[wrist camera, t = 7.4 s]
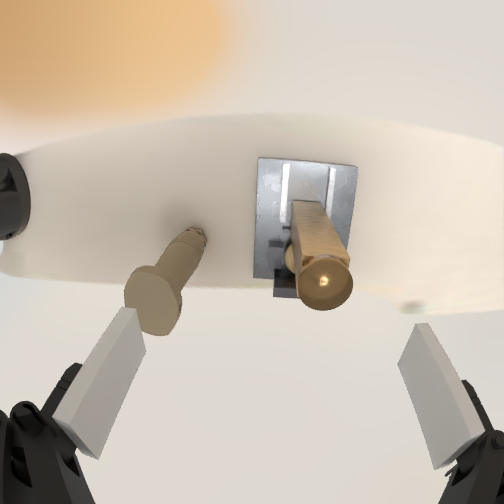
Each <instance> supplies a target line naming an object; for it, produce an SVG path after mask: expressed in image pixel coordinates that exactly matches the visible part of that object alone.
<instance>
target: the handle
mask: <svg viewBox="0 0 504 504" xmlns="http://www.w3.org/2000/svg"><path fill="white" fill-rule="evenodd" d="M206 242H207V240H206V238H205V237H204V236H203V233H202V230H201V229H193V228H192V227H190V228H188V229H186V230H185V232H183V233H181V234H180V235H178V236H177V237H176V238H175V239H174V240H173V241H172V242H171V243H170V244H169V246H168V247H167V248H166V250H165V251H164V253H163V254H162V256H161V257H160V259H159V260H158V262H157V264H156V265H155V266H142V267H139V268H137V269H135V271H134V272H133V273H132V274H131V276H130V277H129V279H128V281H127V283H126V286H125V289H124V299H125V307H127V308H134V309H136V310H137V315H138V320H139V324H140V328H141V331H143V332H145V333H148V334H151V335H155V336H165V335H168V334H169V333H170V332H171V331H172V329H173V328H174V326H175V324H176V322H177V321H178V319H179V316H180V313H181V307H182V296H181V293H180V292H181V290H182V289H183V287H184V285H185V284H186V282H187V281H188V280H189V278H190V277H191V275H192V274H193V272H194V271H195V269H196V268H197V266H198V264H199V262H200V260H201V257H202V254H203V251H204V247H205V246H206Z"/></svg>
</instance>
